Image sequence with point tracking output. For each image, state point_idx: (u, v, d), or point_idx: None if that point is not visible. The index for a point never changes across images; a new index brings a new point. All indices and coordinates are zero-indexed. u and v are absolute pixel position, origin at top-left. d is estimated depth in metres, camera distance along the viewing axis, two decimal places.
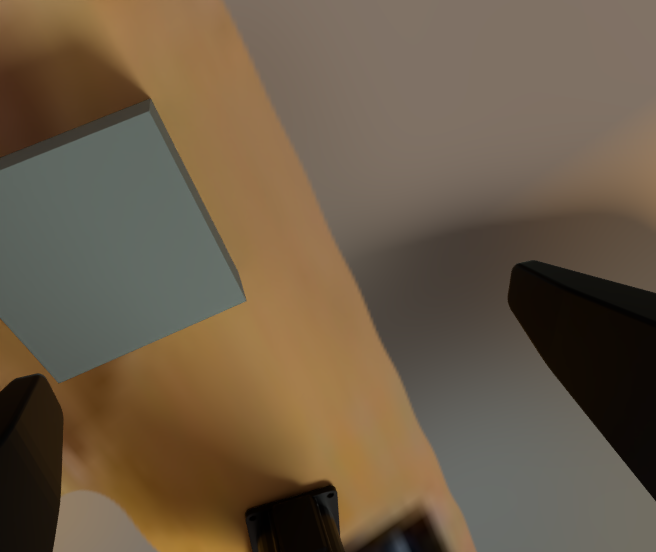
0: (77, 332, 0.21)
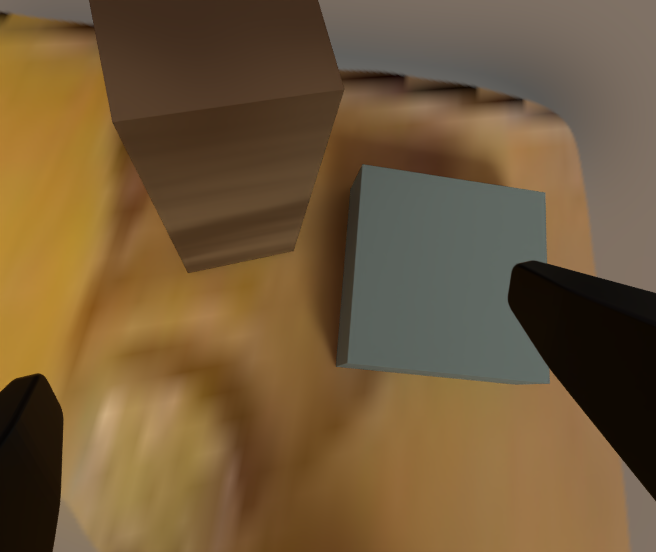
0: (397, 321, 0.21)
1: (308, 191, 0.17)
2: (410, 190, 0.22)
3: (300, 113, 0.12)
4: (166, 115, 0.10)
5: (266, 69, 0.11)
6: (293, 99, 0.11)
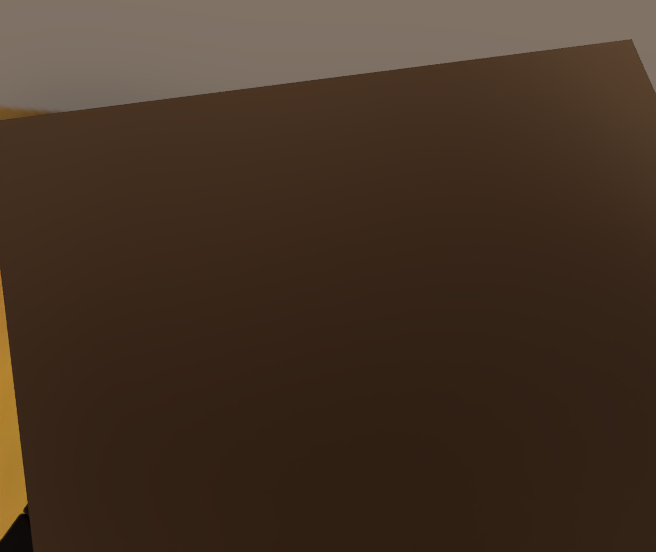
0: None
1: None
2: None
3: None
4: None
5: None
6: None
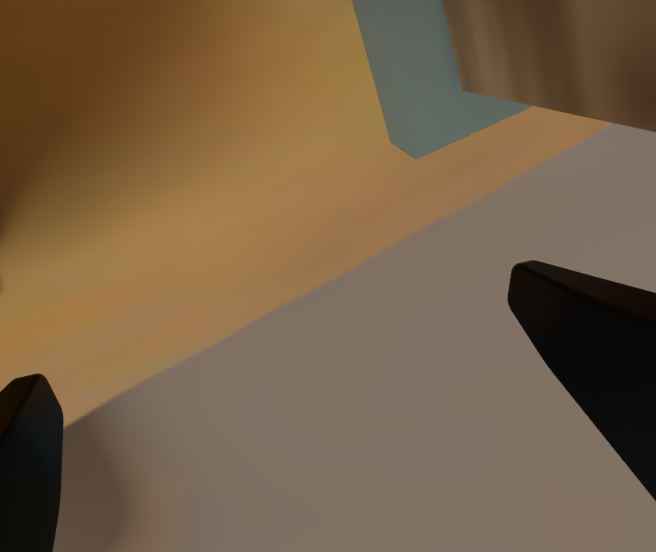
0: None
1: (607, 116, 0.12)
2: None
3: None
4: None
5: None
6: None
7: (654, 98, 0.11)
